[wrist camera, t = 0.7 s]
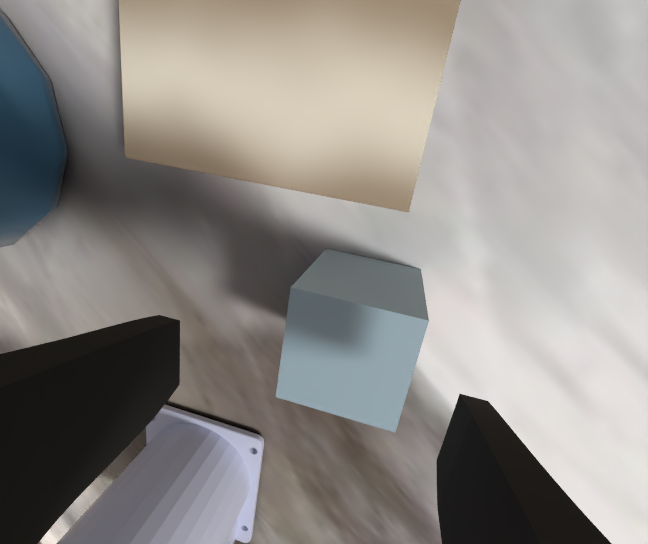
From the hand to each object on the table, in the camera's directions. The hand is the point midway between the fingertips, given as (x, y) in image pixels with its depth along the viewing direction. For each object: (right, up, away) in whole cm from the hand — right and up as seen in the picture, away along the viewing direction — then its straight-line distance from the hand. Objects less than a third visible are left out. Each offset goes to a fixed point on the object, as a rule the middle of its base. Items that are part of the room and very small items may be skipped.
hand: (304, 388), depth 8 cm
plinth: (-1, +13, +5) cm, 14 cm away
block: (+2, +1, +8) cm, 9 cm away
